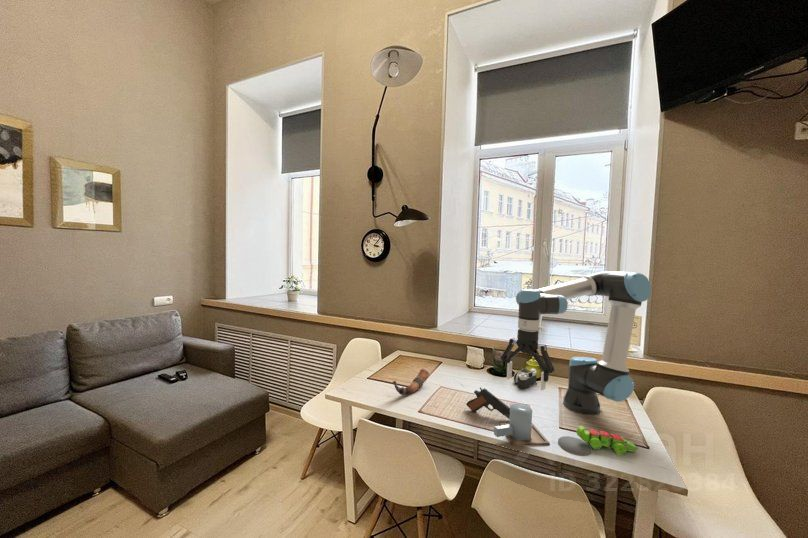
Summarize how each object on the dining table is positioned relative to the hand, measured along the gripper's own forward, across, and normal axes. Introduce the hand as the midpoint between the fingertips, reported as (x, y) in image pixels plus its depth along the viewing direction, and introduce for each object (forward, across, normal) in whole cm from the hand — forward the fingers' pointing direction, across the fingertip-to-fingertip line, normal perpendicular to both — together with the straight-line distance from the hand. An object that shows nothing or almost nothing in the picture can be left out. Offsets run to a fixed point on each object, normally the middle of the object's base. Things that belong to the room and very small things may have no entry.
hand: (525, 383), depth 123 cm
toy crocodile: (+20, +24, +15) cm, 35 cm away
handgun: (+23, -19, +2) cm, 30 cm away
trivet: (+20, +16, +7) cm, 27 cm away
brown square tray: (+20, 0, 0) cm, 20 cm away
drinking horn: (+21, -55, -7) cm, 60 cm away
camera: (+21, -22, +48) cm, 57 cm away
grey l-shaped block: (+20, 0, -3) cm, 20 cm away
